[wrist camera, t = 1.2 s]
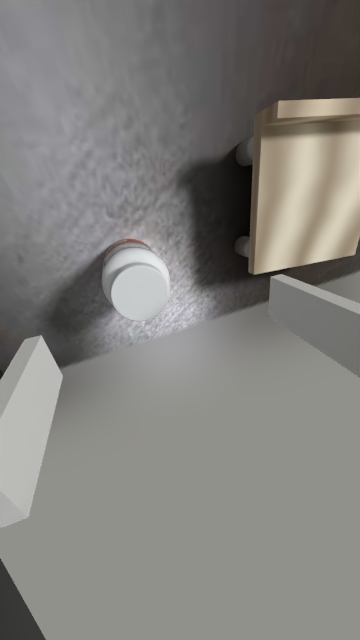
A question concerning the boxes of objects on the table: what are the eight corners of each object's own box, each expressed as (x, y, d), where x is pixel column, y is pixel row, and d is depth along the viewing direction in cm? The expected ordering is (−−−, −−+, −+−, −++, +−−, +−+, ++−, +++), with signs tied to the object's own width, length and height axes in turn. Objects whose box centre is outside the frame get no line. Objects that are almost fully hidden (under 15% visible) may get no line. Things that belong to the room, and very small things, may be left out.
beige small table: (228, 262, 31) (264, 279, 23) (228, 132, 24) (278, 100, 17) (315, 246, 33) (370, 257, 26) (337, 125, 27) (419, 95, 19)
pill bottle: (147, 294, 29) (165, 336, 20) (98, 281, 27) (91, 322, 17) (162, 247, 27) (190, 269, 18) (110, 229, 25) (110, 243, 15)
